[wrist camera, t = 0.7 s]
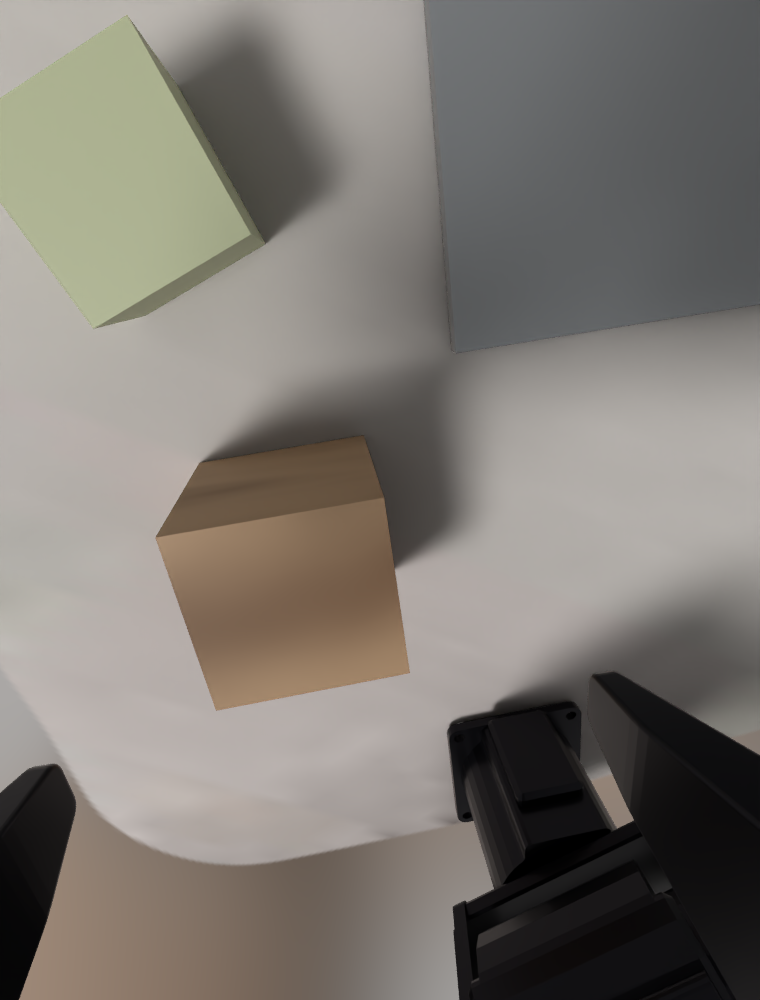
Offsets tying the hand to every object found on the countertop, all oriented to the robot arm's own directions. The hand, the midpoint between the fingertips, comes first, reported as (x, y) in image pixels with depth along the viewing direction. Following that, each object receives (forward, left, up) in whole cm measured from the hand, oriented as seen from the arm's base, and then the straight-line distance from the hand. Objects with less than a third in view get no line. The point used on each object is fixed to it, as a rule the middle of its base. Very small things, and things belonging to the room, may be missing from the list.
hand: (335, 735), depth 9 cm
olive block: (+10, +3, -12) cm, 16 cm away
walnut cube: (-1, +1, -12) cm, 12 cm away
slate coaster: (+11, -12, -12) cm, 20 cm away
